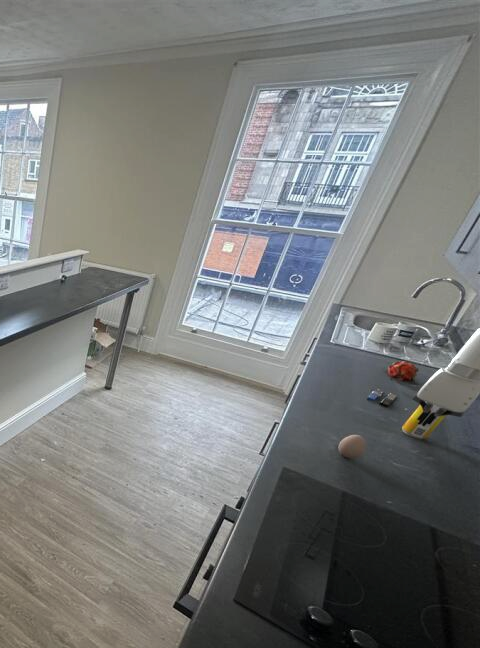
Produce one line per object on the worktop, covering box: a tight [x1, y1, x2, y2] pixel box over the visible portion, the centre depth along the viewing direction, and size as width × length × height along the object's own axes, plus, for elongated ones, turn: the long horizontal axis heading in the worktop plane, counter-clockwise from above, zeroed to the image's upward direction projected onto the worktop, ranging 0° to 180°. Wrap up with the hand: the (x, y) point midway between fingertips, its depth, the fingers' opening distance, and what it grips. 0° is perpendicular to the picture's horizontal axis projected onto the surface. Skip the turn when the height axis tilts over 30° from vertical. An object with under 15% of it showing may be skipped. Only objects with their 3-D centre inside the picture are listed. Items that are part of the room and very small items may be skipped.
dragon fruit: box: [386, 360, 420, 382], centre depth 164 cm, size 8×8×12 cm
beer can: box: [401, 404, 447, 440], centre depth 126 cm, size 6×6×15 cm
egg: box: [338, 434, 367, 459], centre depth 113 cm, size 5×5×7 cm
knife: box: [379, 392, 398, 408], centre depth 149 cm, size 16×2×1 cm, turn 126°
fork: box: [366, 388, 384, 402], centre depth 151 cm, size 15×3×1 cm, turn 126°
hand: (421, 423), depth 120 cm, fingers closed
